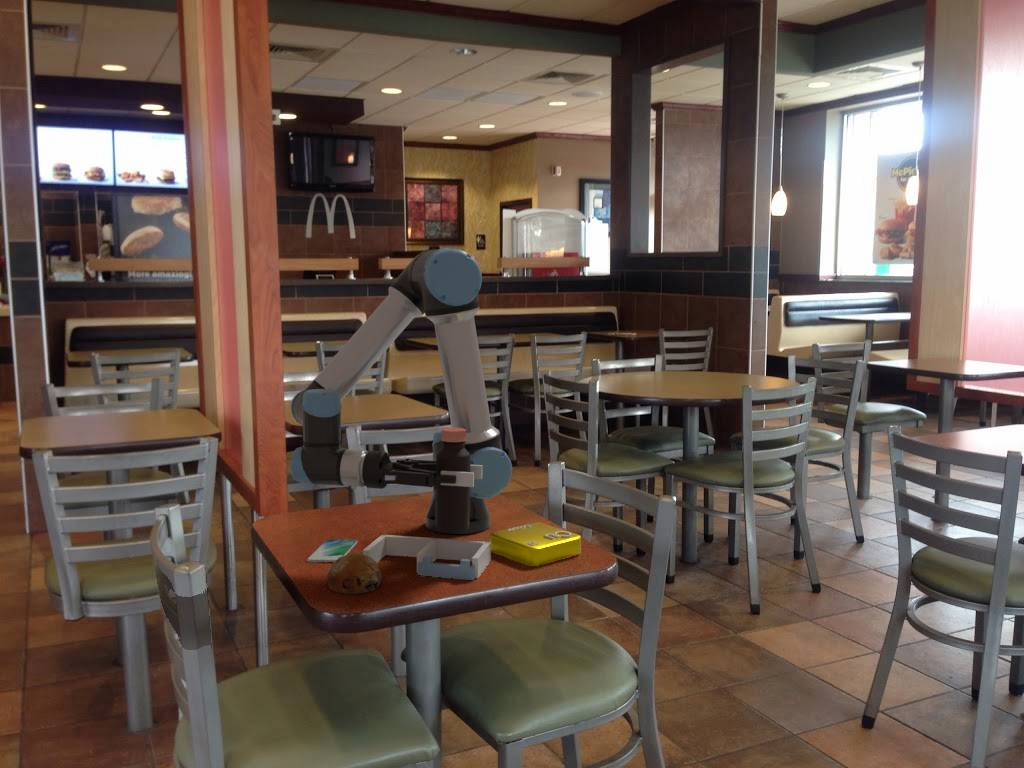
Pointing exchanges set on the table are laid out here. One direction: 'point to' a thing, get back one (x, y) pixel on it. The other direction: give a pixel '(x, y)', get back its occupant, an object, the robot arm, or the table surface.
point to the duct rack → (435, 554)
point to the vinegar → (452, 498)
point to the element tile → (535, 543)
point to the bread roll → (354, 574)
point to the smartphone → (332, 550)
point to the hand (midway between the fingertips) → (477, 475)
